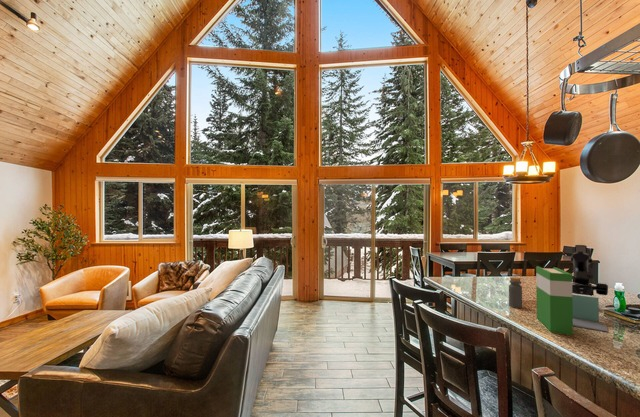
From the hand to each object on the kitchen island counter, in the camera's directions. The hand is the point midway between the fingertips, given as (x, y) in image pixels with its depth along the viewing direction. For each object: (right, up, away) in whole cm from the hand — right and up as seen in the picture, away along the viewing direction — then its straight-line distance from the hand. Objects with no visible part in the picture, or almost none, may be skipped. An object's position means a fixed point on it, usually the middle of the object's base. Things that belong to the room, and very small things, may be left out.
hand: (581, 301), depth 145 cm
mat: (-9, -7, -11) cm, 15 cm away
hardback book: (-23, -7, -13) cm, 28 cm away
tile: (-3, -7, -4) cm, 9 cm away
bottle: (-22, -7, +15) cm, 27 cm away
